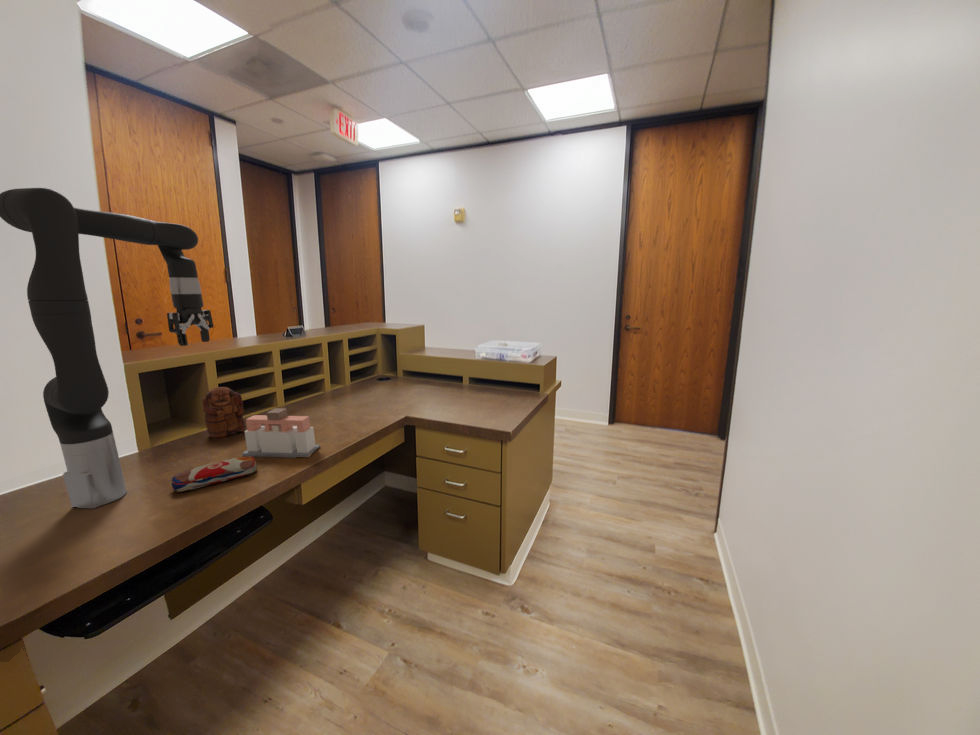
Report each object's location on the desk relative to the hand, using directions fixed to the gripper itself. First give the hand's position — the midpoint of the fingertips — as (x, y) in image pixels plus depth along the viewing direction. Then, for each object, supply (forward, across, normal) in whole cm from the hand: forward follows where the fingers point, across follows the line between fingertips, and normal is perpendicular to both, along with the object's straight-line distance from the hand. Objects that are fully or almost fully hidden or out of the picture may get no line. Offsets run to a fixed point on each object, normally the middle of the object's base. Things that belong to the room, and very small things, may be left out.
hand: (195, 343), depth 121 cm
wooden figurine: (+36, +12, +4) cm, 38 cm away
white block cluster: (+36, -2, -26) cm, 45 cm away
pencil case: (+37, -21, -18) cm, 46 cm away
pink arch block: (+28, -2, -26) cm, 38 cm away
